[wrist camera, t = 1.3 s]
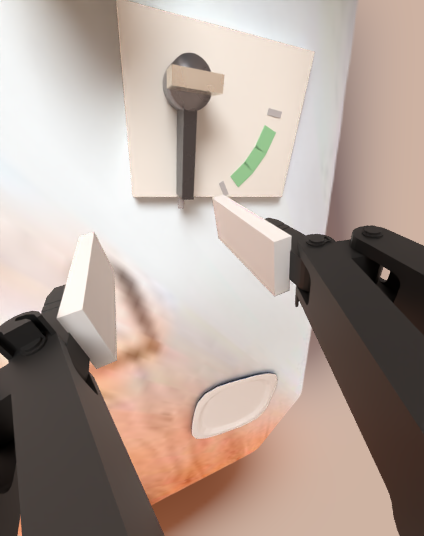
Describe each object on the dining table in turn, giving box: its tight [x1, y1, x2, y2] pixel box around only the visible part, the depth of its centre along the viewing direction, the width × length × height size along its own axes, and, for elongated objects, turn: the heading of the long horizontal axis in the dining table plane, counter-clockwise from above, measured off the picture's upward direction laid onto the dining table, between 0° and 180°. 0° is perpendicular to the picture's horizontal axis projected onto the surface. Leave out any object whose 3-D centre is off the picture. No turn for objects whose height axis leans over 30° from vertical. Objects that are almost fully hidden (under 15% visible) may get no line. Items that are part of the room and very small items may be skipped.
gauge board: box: [116, 0, 315, 208], centre depth 29 cm, size 18×22×2 cm
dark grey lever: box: [163, 53, 224, 199], centre depth 25 cm, size 13×5×5 cm, turn 175°
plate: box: [192, 373, 278, 439], centre depth 67 cm, size 25×25×2 cm
